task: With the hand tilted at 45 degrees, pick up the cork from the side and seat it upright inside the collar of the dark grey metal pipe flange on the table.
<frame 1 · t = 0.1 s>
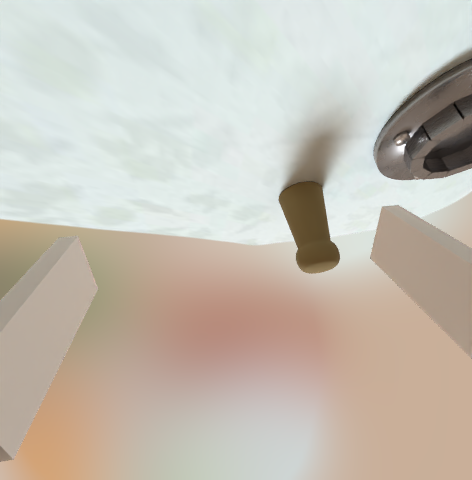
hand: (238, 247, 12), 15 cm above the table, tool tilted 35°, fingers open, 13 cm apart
flange: (453, 123, 29), on the table
cork: (299, 193, 38), on the table
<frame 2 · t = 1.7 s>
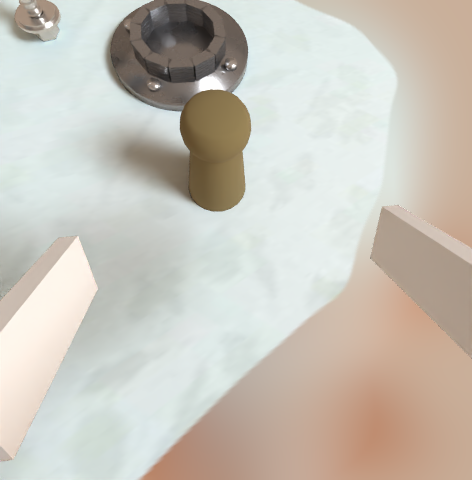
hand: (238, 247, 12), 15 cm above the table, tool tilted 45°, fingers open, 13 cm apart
flange: (181, 56, 33), on the table
screw: (49, 34, 33), on the table
cork: (217, 186, 29), on the table
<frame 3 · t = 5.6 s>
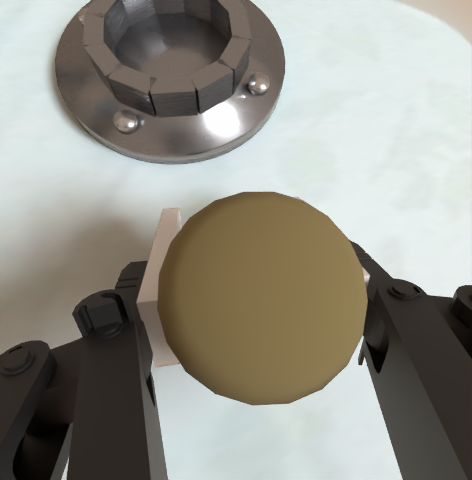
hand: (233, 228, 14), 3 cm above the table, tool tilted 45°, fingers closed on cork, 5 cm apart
flange: (176, 69, 20), on the table
cork: (238, 305, 16), on the table, touching gripper
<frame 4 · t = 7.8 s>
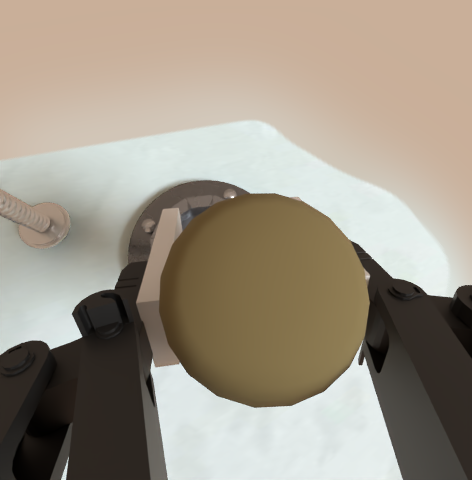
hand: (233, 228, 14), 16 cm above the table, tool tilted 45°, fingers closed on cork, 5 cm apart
flange: (207, 252, 30), on the table
screw: (57, 231, 30), on the table
cork: (238, 306, 16), point 12 cm above the table, touching gripper
when the fingers open (6 cm above the table, at t = 10.5 s): cork drops 1 cm, resting on flange.
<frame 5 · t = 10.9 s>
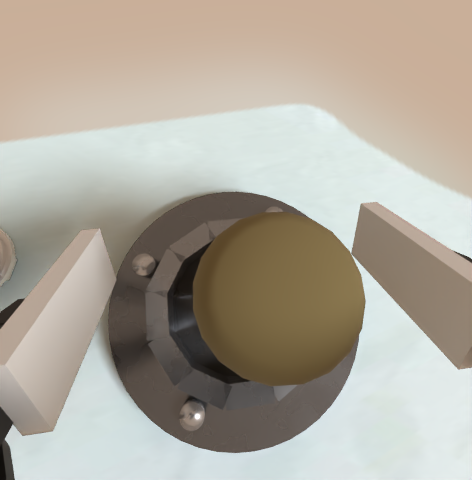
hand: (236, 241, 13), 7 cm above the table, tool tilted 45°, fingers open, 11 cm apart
flange: (236, 306, 19), on the table
cork: (247, 306, 18), point 1 cm above the table, touching flange
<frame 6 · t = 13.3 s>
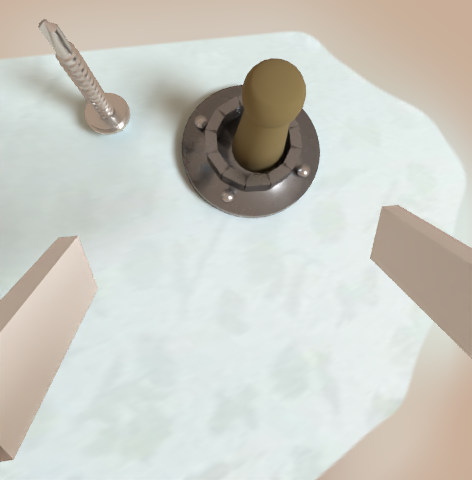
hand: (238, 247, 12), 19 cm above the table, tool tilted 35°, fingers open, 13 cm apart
flange: (250, 152, 33), on the table
screw: (114, 124, 32), on the table
cork: (257, 149, 32), point 1 cm above the table, touching flange
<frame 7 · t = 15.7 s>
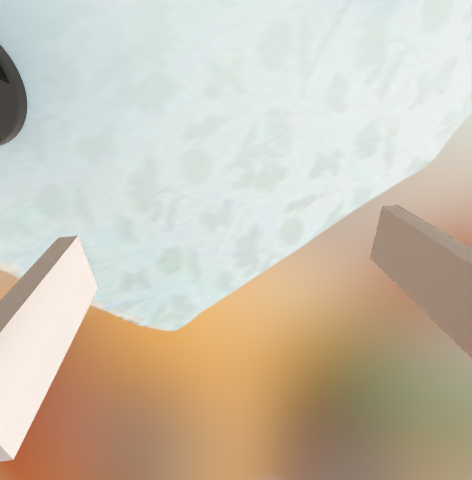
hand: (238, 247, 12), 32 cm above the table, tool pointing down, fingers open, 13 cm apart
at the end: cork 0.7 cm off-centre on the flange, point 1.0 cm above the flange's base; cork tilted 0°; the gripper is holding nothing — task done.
